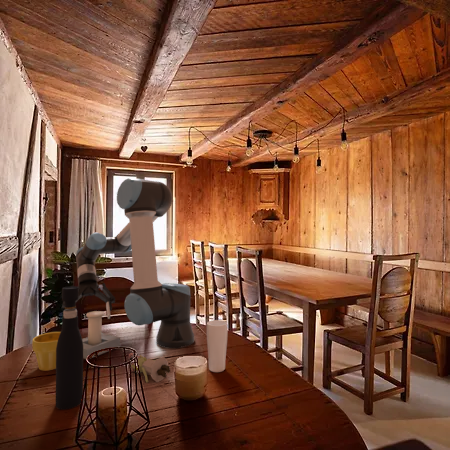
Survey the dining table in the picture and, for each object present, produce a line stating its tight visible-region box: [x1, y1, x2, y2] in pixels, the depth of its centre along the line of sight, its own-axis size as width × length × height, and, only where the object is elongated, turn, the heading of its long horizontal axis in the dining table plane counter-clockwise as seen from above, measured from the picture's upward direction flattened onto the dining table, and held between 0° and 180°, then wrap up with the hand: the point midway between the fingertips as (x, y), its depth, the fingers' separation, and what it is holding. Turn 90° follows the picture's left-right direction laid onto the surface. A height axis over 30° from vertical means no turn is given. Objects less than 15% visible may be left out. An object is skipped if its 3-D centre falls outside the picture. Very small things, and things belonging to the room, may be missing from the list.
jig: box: [82, 332, 121, 360], centre depth 121 cm, size 11×15×4 cm
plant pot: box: [31, 331, 61, 372], centre depth 106 cm, size 10×10×10 cm
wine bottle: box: [55, 285, 84, 411], centre depth 84 cm, size 6×6×30 cm
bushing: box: [86, 310, 104, 346], centre depth 120 cm, size 6×6×14 cm
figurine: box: [128, 352, 171, 384], centre depth 100 cm, size 9×7×15 cm
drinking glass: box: [206, 319, 229, 373], centre depth 105 cm, size 7×7×15 cm
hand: (91, 319), depth 129 cm, fingers open, 13 cm apart
